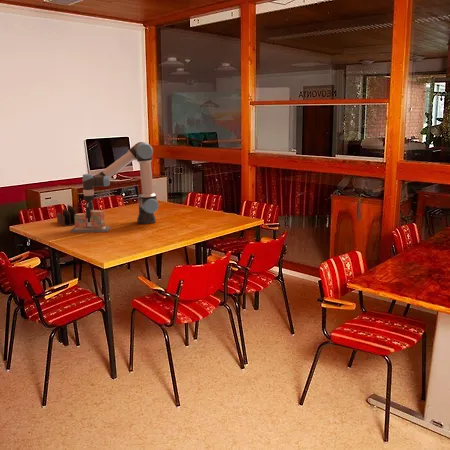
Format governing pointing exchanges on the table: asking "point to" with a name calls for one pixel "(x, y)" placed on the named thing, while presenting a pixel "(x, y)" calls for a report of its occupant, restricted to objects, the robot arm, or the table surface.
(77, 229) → the base board
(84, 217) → the stack of blocks
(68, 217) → the letter holder
